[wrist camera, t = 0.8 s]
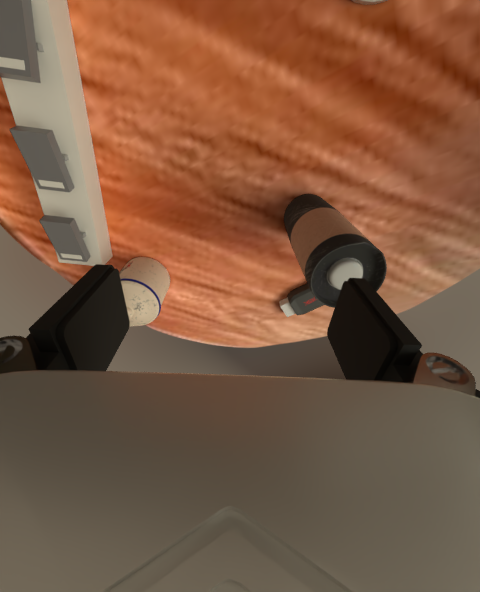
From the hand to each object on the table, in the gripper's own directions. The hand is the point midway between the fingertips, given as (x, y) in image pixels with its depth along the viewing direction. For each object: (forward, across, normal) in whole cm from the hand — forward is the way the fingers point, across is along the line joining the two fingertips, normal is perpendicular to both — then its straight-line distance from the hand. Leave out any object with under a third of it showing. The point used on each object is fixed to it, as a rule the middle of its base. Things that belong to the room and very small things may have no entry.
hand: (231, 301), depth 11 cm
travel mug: (+33, -12, +5) cm, 36 cm away
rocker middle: (+28, +24, -1) cm, 37 cm away
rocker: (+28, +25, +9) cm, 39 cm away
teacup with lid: (+34, +16, +20) cm, 42 cm away
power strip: (+33, +24, -4) cm, 41 cm away
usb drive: (+34, -16, +20) cm, 42 cm away
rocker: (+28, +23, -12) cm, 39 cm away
